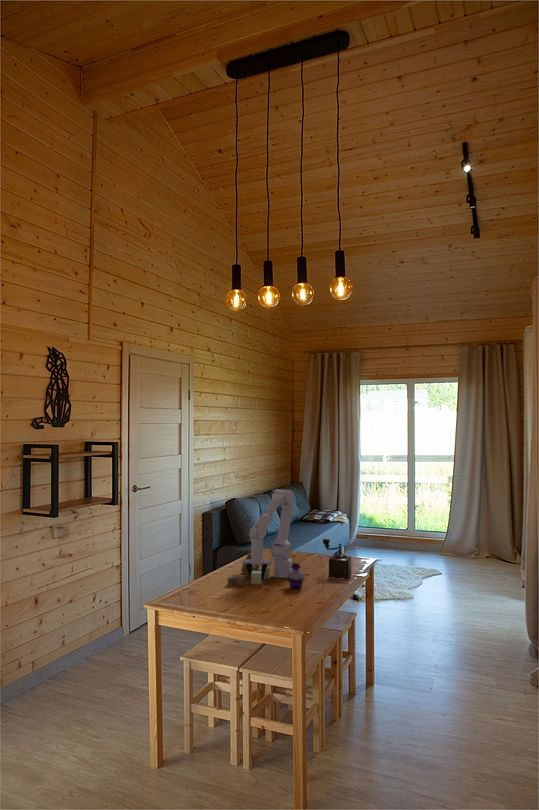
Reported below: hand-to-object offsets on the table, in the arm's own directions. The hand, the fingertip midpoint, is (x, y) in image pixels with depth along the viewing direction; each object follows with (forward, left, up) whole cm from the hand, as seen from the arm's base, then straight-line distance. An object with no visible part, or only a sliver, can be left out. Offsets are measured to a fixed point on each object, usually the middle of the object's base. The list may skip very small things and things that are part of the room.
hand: (256, 579), depth 266 cm
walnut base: (+9, +5, -2) cm, 10 cm away
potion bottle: (-20, +6, -2) cm, 21 cm away
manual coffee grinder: (-38, -20, -2) cm, 43 cm away
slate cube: (-2, -9, -2) cm, 9 cm away
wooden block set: (+6, -14, -2) cm, 15 cm away
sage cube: (0, 0, -1) cm, 1 cm away
